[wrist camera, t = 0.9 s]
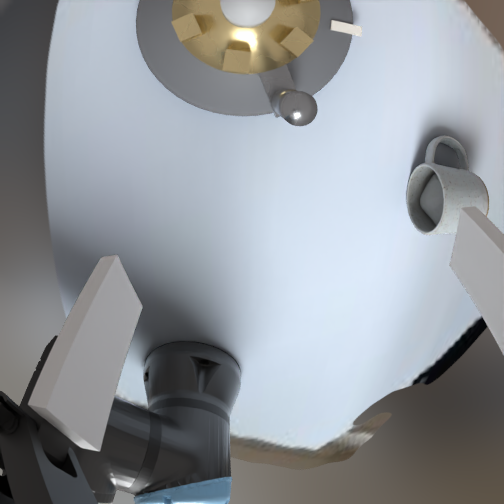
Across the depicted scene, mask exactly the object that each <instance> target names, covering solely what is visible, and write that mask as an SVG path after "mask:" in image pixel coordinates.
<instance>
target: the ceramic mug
mask: <svg viewBox="0 0 504 504" xmlns="http://www.w3.org/2000/svg"><path fill="white" fill-rule="evenodd" d="M439 143H444V144H447V145H449V146H450V147H452V148H454V150H455V151H456V153H457V156H458V159H459V165H460V169H456V168H451V167H447V166H442V165H437V164H435V162H434V157H435V151H436V147H437V145H438V144H439ZM472 206H476V207H477V208H478V209H479V210H480V211H481V212H482V213H483V214H484V215H485V216H486V217H487V214H488V210H489V196H488V191H487V188H486V186H485V184H484V182H483V181H482V180H481V178H480V177H478V176H477V175H475V174H474V173H472V172H470V171H469V166H468V158H467V155H466V152H465V150H464V148H463V146H462V145H461V144H460V143H459V141H457V140H456V139H454V138H453V137H450V136H444V135H442V136H439V137H437V138H434V139H433V140H432V141H431V142H430V143H429V145H428V146H427V150H426V156H425V163H423V164H420V165H418V166H417V167H416V168H415V169H414V171H413V172H412V174H411V176H410V179H409V182H408V187H407V208H408V213H409V216H410V219H411V221H412V223H413V225H414V226H415V228H416V229H417V230H418V231H419V232H421V233H422V234H425V235H438V234H452V233H456V232H457V227H458V221H459V215H460V209H461V208H463V207H472Z"/></svg>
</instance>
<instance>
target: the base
mask: <svg viewBox="0 0 504 504" xmlns="http://www.w3.org/2000/svg"><path fill="white" fill-rule="evenodd" d="M319 2H320V12H321V14H320V22H319V26H318V30H317V32H316V34H315V37H314V38H313V40H314V41H313V42H312V43H311V44H310V45H309V46H308V47H307V48H306V49H305V51H304V52H303V53H302V54H301V55H300V56H299V57H297V58H295V59H294V60H292V61H291V62H289V63H287V67H288V69H289V72H290V75H291V77H292V80H293V82H294V85H295V88H296V90H298V91H303V92H306V93H308V94H310V95H311V96H313V95H314V94H315V93H317V92H318V91H320V90H321V89H322V88H323V87H324V86H325V85H326V84H327V83H328V82H329V81H330V80H331V79H332V78H333V76H334V75H335V74H336V73H337V71H338V70H339V68H340V66H341V65H342V63H343V62H344V60H345V57H346V55H347V52H348V50H349V47H350V43H351V39H352V35H357V36H361V34H362V27H361V26H356V25H353V15H352V9H351V4H350V0H319ZM220 4H221V9H222V13H223V15H224V17H225V19H226V20H227V21H228V22H229V23H231V24H232V25H234V26H237V27H240V28H253V27H257V26H259V25H261V24H263V23H264V22H265V21H266V20H267V19H268V18H269V16H270V15H271V13H272V11H273V9H274V7H275V0H220ZM172 5H173V0H140V2H139V5H138V9H137V18H136V32H137V38H138V43H139V47H140V50H141V53H142V55H143V58H144V60H145V62H146V63H147V65H148V67H149V69H150V70H151V72H152V73H153V74H154V76H155V77H156V78H157V79H158V80H159V81H160V82H161V83H162V84H163V85H164V86H165V87H166V88H167V89H168V90H169V91H171V92H172V93H173V94H174V95H176V96H177V97H179V98H181V99H182V100H184V101H186V102H187V103H189V104H192V105H194V106H196V107H199V108H201V109H204V110H207V111H211V112H214V113H219V114H225V115H233V116H257V115H263V114H270V113H273V110H272V108H271V105H270V103H269V100H268V98H267V95H266V92H265V90H264V87H263V85H262V82H261V80H260V77H259V75H258V73H257V74H244V75H243V74H233V73H227V72H224V71H221V70H217V69H215V68H213V67H211V66H209V65H207V64H205V63H204V62H202V61H200V60H199V59H197V58H196V57H195V56H193V55H192V54H191V53H190V52H189V51H188V50H187V49H186V48H185V46H184V45H183V44H182V43H181V42H180V40H179V38H178V36H177V34H176V31H175V29H174V27H173V25H172V23H171V22H172V21H173V19H172Z"/></svg>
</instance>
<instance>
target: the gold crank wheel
mask: <svg viewBox="0 0 504 504" xmlns="http://www.w3.org/2000/svg"><path fill="white" fill-rule="evenodd" d="M320 14H321V12H320V2H319V0H275V7H274V9H273V11H272V13H271V15H270V16H269V18H268V19H267V20H266V21H265V22H264V23H263V24H261V25H259V26H257V27H253V28H240V27H237V26H234V25H232V24H231V23H229V22H228V21H227V20H226V19H225V17H224V15H223V13H222V9H221V4H220V0H173V5H172V19H173V21H172V22H171V23H172V25H173V27H174V29H175V31H176V34H177V36H178V38H179V40H180V42H181V43H182V44H183V45H184V46H185V48H186V49H187V50H188V51H189V52H190V53H191V54H192V55H193V56H195V57H196V58H197V59H199V60H200V61H202V62H204V63H205V64H207V65H209V66H211V67H213V68H215V69H217V70H221V71H224V72H227V73H233V74H243V75H244V74H257V73H258V75H259V77H260V80H261V82H262V85H263V87H264V90H265V92H266V95H267V98H268V100H269V103H270V105H271V108H272V110H273V113H274V116H275V117H279V116H281V117H282V118H284V119H285V120H286V121H287V122H289V123H290V124H292V125H295V126H304V125H307V124H309V123H311V122H312V121H313V120H314V118H315V117H316V114H317V104H316V101H315V99H314V98H313V97H312V96H311V95H310V94H308V93H306V92H303V91H298V90H296V88H295V85H294V82H293V80H292V77H291V75H290V72H289V69H288V67H287V63H289V62H291V61H292V60H294V59H295V58H297V57H299V56H300V55H301V54H302V53H303V52H304V51H305V49H306V48H307V47H308V46H309V45H310V44H311V43H312V42H313V41H314V40H313V38H314V37H315V34H316V32H317V30H318V26H319V22H320Z"/></svg>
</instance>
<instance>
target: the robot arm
mask: <svg viewBox="0 0 504 504" xmlns="http://www.w3.org/2000/svg"><path fill="white" fill-rule="evenodd" d="M449 266H450V267H451V269H452V270H453V271H454V273H455V274H456V276H457V277H458V279H459V280H460V282H461V283H462V285H463V286H464V288H465V290H466V291H467V293H468V294H469V296H470V297H471V299H472V301H473V302H474V304H475V305H476V307H477V309H478V310H479V312H480V314H481V315H482V317H483V319H484V320H485V322H486V324H487V326H488V327H489V329H490V331H491V332H492V334H493V336H494V338H495V340H496V342H497V344H498V345H499V347H500V349H501V351H502V353H503V354H504V234H503V233H502V232H501V231H500V230H499V229H498V228H497V227H496V226H495V225H494V224H493V223H492V222H491V221H490V220H489V219H488V218H487V217H486V216H485V215H484V214H483V213H482V212H481V211H480V210H479V209H478V208H477V207H476V206H472V207H463V208H461V209H460V215H459V221H458V227H457V232H456V237H455V242H454V247H453V252H452V256H451V261H450V265H449ZM142 308H143V306H142V304H141V302H140V300H139V298H138V296H137V294H136V292H135V290H134V288H133V286H132V284H131V282H130V280H129V278H128V276H127V274H126V272H125V270H124V268H123V265H122V263H121V261H120V259H119V257H118V255H111V256H105V257H101V259H100V260H99V262H98V264H97V265H96V267H95V269H94V270H93V272H92V274H91V275H90V277H89V279H88V281H87V282H86V284H85V286H84V288H83V290H82V291H81V293H80V295H79V297H78V299H77V300H76V302H75V304H74V306H73V308H72V310H71V312H70V314H69V315H68V317H67V319H66V321H65V323H64V325H63V327H62V329H61V331H60V333H59V335H58V336H55V337H54V338H53V339H52V340H51V341H50V343H49V344H48V345H47V346H46V348H45V350H44V352H43V354H42V356H41V358H40V359H41V361H39V362H38V365H37V367H36V371H34V373H33V376H32V378H31V380H30V383H29V385H28V387H27V389H26V392H25V394H24V397H23V399H22V401H21V404H20V406H18V405H17V404H15V402H13V401H12V400H11V399H10V398H9V397H8V396H7V395H6V394H5V393H3V392H2V391H0V468H1V469H2V470H3V474H2V476H0V504H112V502H113V499H114V496H115V492H116V491H117V490H120V491H125V492H127V493H131V494H134V495H135V497H134V501H135V504H228V503H229V500H230V491H231V481H232V477H231V467H230V466H231V465H230V423H229V417H230V414H231V411H232V409H233V406H234V404H235V401H236V398H237V395H238V393H239V390H240V385H241V378H240V369H239V366H238V365H237V363H236V362H235V360H234V359H233V358H232V357H231V356H229V355H228V354H227V353H225V352H223V351H221V350H220V349H217V348H215V347H212V346H209V345H206V344H201V343H195V342H175V343H170V344H166V345H163V346H161V347H158V348H157V349H155V350H154V351H153V352H151V353H150V355H149V356H148V358H147V360H146V363H145V368H144V373H143V378H144V384H145V390H146V395H147V401H148V406H149V408H148V410H147V409H144V408H142V407H140V406H137V405H135V404H133V403H130V402H128V401H126V400H124V399H121V398H119V397H117V396H115V393H116V389H117V386H118V382H119V379H120V376H121V372H122V369H123V366H124V363H125V359H126V356H127V353H128V350H129V347H130V344H131V341H132V338H133V334H134V331H135V328H136V326H137V323H138V320H139V317H140V314H141V311H142Z"/></svg>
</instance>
